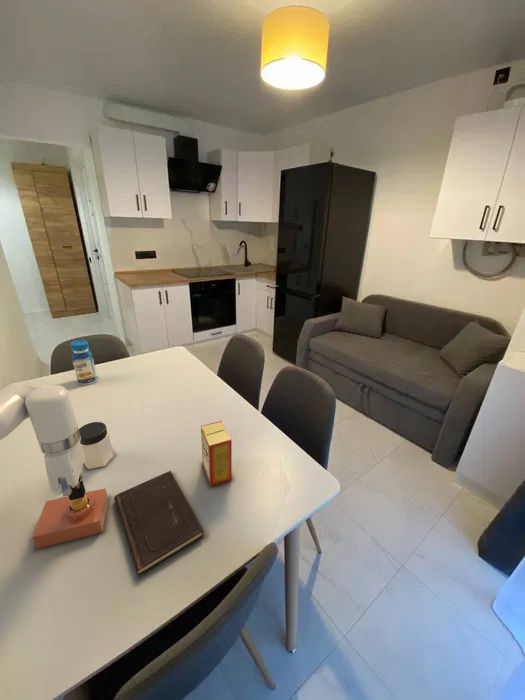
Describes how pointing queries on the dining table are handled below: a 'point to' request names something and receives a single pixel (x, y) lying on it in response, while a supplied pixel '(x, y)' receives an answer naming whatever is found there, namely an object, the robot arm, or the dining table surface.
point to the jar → (95, 444)
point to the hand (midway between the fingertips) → (78, 496)
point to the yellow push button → (79, 503)
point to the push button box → (70, 519)
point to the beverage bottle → (83, 362)
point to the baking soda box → (216, 452)
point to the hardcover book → (156, 521)
